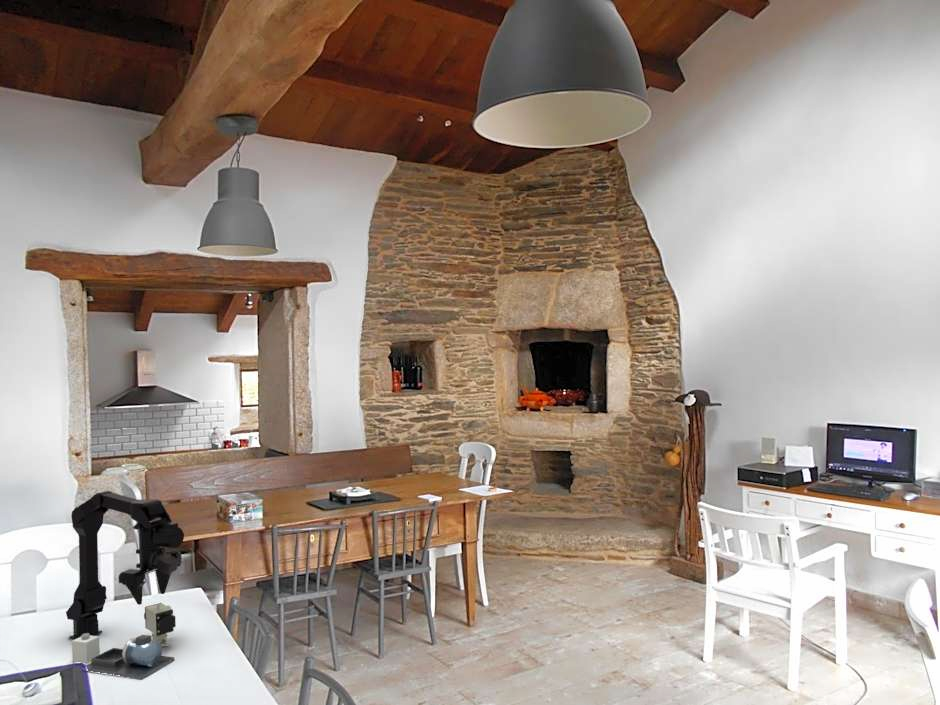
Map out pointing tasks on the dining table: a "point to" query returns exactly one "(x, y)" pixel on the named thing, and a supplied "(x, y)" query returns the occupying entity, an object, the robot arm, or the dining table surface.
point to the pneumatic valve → (159, 622)
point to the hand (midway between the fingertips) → (151, 599)
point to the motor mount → (132, 659)
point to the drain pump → (85, 648)
